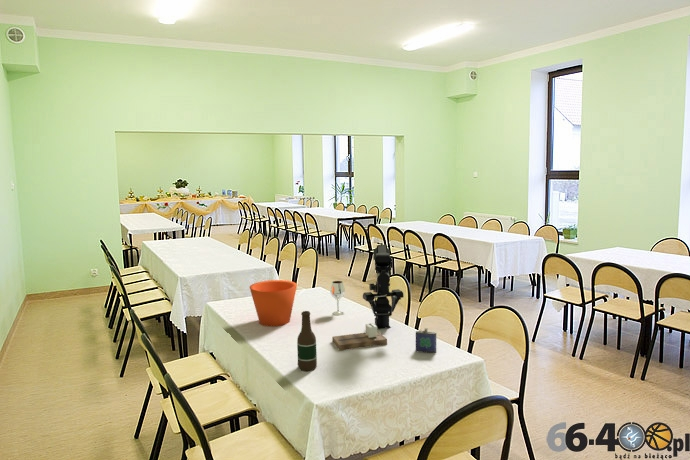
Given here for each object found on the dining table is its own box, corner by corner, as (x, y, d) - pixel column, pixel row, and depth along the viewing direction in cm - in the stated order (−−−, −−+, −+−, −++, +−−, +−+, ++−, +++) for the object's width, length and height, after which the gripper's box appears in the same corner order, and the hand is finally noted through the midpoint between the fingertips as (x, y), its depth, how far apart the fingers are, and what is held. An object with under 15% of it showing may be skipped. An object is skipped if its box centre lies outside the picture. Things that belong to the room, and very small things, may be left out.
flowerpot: (241, 326, 266) (240, 289, 264) (266, 312, 289) (265, 278, 287) (284, 331, 257) (282, 293, 254) (306, 317, 280) (305, 282, 277)
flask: (436, 351, 227) (436, 328, 225) (436, 353, 224) (436, 330, 223) (415, 349, 229) (415, 326, 228) (415, 351, 227) (414, 328, 225)
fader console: (377, 335, 248) (377, 330, 247) (387, 344, 236) (387, 338, 236) (332, 341, 241) (332, 336, 241) (339, 350, 230) (339, 344, 229)
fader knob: (373, 333, 243) (373, 323, 242) (377, 336, 238) (377, 326, 238) (365, 334, 242) (365, 323, 241) (369, 337, 237) (369, 327, 236)
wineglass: (343, 315, 281) (343, 284, 278) (329, 315, 282) (328, 283, 280) (346, 311, 288) (346, 280, 286) (332, 311, 290) (331, 280, 288)
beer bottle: (298, 364, 215) (296, 309, 212) (316, 363, 216) (315, 308, 212) (298, 372, 207) (296, 315, 204) (317, 371, 208) (315, 314, 205)
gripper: (394, 275, 249) (395, 306, 251) (358, 278, 244) (359, 310, 246) (403, 280, 239) (404, 312, 241) (366, 283, 234) (366, 316, 236)
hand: (383, 312), depth 241 cm, fingers open, 9 cm apart
